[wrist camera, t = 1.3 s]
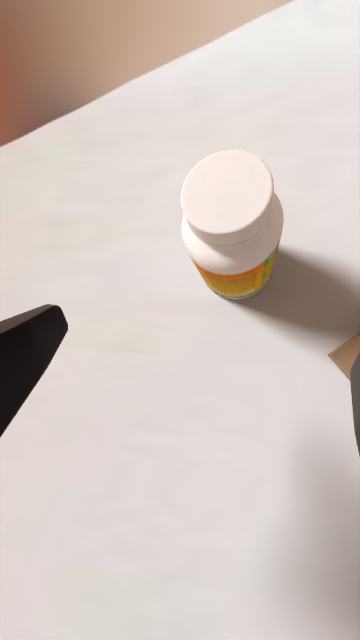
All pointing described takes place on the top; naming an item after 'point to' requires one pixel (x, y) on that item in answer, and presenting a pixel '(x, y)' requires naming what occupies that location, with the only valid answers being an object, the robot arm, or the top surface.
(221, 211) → the supplement bottle
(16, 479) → the top surface
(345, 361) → the bottle holder
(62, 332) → the robot arm
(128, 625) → the top surface
